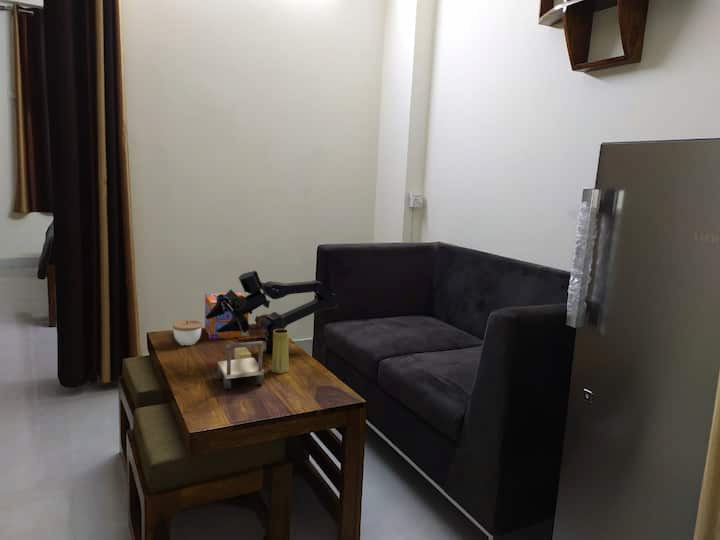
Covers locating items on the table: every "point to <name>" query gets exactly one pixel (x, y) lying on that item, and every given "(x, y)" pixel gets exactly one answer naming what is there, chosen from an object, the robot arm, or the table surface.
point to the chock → (242, 353)
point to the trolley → (241, 365)
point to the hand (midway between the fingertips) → (211, 324)
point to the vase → (280, 351)
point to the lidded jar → (187, 332)
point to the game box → (219, 319)
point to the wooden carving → (257, 327)
